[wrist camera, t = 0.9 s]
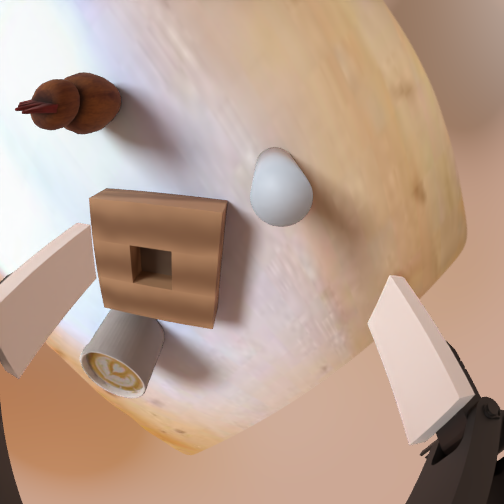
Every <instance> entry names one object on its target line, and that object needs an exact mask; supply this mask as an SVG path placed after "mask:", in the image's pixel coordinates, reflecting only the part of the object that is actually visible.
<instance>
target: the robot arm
mask: <svg viewBox="0 0 504 504" xmlns="http://www.w3.org/2000/svg"><path fill="white" fill-rule="evenodd" d="M95 279H96V272H95V265H94V257H93V248H92V238H91V227H90V225H88V224H82V223H76V224H75V225H73V226H72V227H71V228H69V229H68V230H66V231H65V232H64V233H62V234H61V235H60V236H58V237H57V238H56V239H54V240H53V241H52V242H50V243H49V244H48V245H46V246H45V247H44V248H42V249H41V250H40V251H39V252H37V253H36V254H35V255H34V256H32V257H31V258H30V259H29V260H28V261H26V262H25V263H24V264H23V265H22V266H20V267H19V268H18V269H17V270H16V271H14V272H13V273H11V274H9V275H7V276H6V277H5V278H4V279H3V280H2V281H1V282H0V362H1V364H2V366H3V367H4V369H5V371H7V372H8V373H10V374H12V375H13V376H15V377H16V378H18V379H19V378H20V377H21V375H22V374H23V372H24V371H25V369H26V368H27V366H28V365H29V363H30V362H31V360H32V359H33V358H34V356H35V354H36V353H37V352H38V350H39V349H40V348H41V346H42V345H43V344H44V342H45V341H46V340H47V338H48V337H49V336H50V334H51V333H52V332H53V330H54V329H55V328H56V326H57V325H58V324H59V323H60V321H61V320H62V319H63V317H64V316H65V315H66V314H67V312H68V311H69V310H70V309H71V307H72V306H73V305H74V304H75V303H76V301H77V300H78V299H79V298H80V297H81V295H82V294H83V293H84V292H85V291H86V290H87V288H88V287H89V286H90V285H91V284H92V283H93V281H94V280H95ZM367 324H368V326H369V329H370V331H371V334H372V336H373V339H374V341H375V344H376V347H377V349H378V352H379V355H380V357H381V360H382V363H383V365H384V368H385V371H386V374H387V376H388V379H389V382H390V385H391V388H392V391H393V394H394V397H395V400H396V403H397V406H398V409H399V412H400V416H401V419H402V422H403V425H404V429H405V432H406V435H407V439H408V443H409V445H412V444H417V443H422V442H426V441H427V440H428V439H429V438H430V437H432V436H433V435H434V434H435V433H436V434H437V437H438V439H437V440H436V441H434V442H433V443H432V444H431V445H430V446H428V447H427V448H426V449H424V450H423V451H422V452H421V454H420V455H421V456H423V455H424V454H425V453H427V452H428V451H429V450H430V452H429V454H428V455H427V456H426V457H425V458H426V459H427V460H426V463H425V464H424V467H423V469H422V471H421V474H420V476H419V478H418V480H417V482H416V484H415V486H414V488H413V491H412V493H411V495H410V497H409V498H408V500H407V502H406V504H504V457H503V458H501V459H500V460H498V461H497V455H498V454H499V453H500V452H502V451H503V450H504V410H500V407H499V406H498V404H497V403H496V402H495V401H494V400H493V399H491V398H488V397H482V398H481V397H480V395H479V393H478V391H477V389H476V387H475V385H474V383H473V381H472V379H471V378H470V375H469V374H468V372H467V370H466V369H465V366H464V365H463V363H462V361H460V358H459V356H458V354H457V352H456V351H455V349H454V348H453V347H452V346H451V345H450V344H449V343H448V342H447V341H445V339H444V337H443V336H442V334H441V333H440V331H439V329H438V327H437V326H436V324H435V323H434V321H433V320H432V318H431V317H430V315H429V314H428V312H427V310H426V309H425V307H424V306H423V304H422V303H421V301H420V300H419V298H418V297H417V296H416V294H415V293H414V291H413V290H412V288H411V287H410V285H409V284H408V283H407V281H406V280H405V278H404V277H400V276H394V275H389V278H388V280H387V282H386V285H385V287H384V289H383V291H382V294H381V296H380V298H379V300H378V302H377V304H376V307H375V309H374V311H373V313H372V315H371V317H370V319H369V321H368V323H367ZM0 504H23V503H22V501H21V498H20V495H19V492H18V489H17V485H16V482H15V479H14V475H13V472H12V468H11V464H10V459H9V456H8V450H7V446H6V440H5V435H4V429H3V422H2V414H1V404H0Z"/></svg>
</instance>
